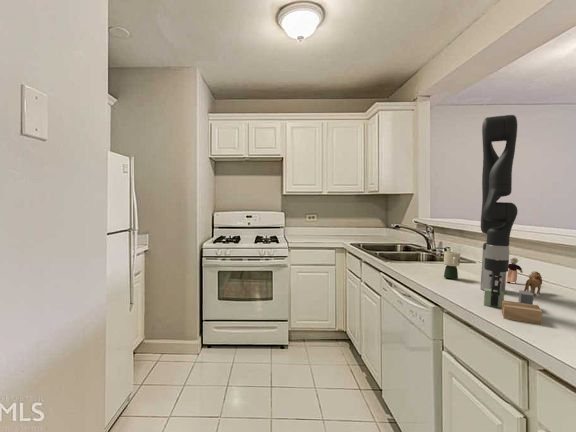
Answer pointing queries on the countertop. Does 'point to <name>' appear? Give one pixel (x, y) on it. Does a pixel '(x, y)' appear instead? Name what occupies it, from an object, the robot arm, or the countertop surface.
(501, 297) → the sage brick
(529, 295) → the charcoal brick
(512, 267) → the grandmother figurine
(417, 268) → the countertop surface
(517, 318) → the oak block
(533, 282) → the lion figurine
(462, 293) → the countertop surface
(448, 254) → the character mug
